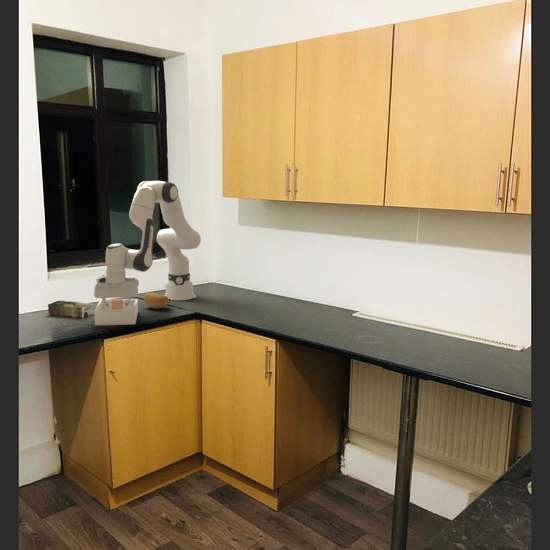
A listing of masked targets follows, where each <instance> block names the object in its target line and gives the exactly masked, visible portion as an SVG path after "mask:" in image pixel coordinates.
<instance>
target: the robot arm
mask: <svg viewBox="0 0 550 550" xmlns="http://www.w3.org/2000/svg"><path fill="white" fill-rule="evenodd" d="M137 185H138V186H137V188H136V192H135V193H134V196H133V199H132V201H131V205H130V208H129V212H128V214H129V215H128V217H129V219H130V221H131V222H132V224H133V225H135V226H136V227H138V228H139V229H140V230H141V232H142V237H141V244H140V248H139V249H131V248H128V247H127V246H124V245H123V244H122V243H119V242H118V243H111V244H109V245H107V247H106V249H105V265H106V269H105V271H106V272H105V274H103V275H100V276H98V277H97V278H96V284H95V286H94V293H93V295H94V298H96V299H101V300H103V302H104V303H105V307H108V306H109V305H108V304H109V303H107V302H106V301H105V300H107V299H109V298H111V299H114V298H115V299H121V298H127V299H129V300H128V302H126V303H125V304H126V305H125V306H129V302H130V300H131V299H132V298H137V297H138V296H139V288H138V287H139V285H140V284H139V283H140V281H139V279H138V278H136V277H126V269H127V270H128V269H129V270H133V271H138V272H139V271H140V272H142V273H143V272H147V271H148V270H150V268H151V267H152V265H153V262H154V258H153V256H154V255H153V253H154V252H153V250H154V241H155V233H156V232H155V231H156V223H155V221H154V218H153V213H154V210H155V206H156V205H155V204H159V205H160V210H161V215H162V219H163V222H164V223H165V225H167V226H168V227H170V228H163V229H160V230H159V231H158V232H157V234H156V243H157V244H158V245H159V246H160V247H161V249H162V250H163V251H164V252H165V254H166V256H167V259H168V260H167V261H168V275H167V277H168V278H167V279H168V280H167V282H166V283H165V294H164V295H165V296H167V297H168V299H170V300H171V301H187V300H191V299H196V298H197V295H196V294H195V293H194V285H193V282H192V281H191V273H190V259H188V257H187V256H186V255H184V253H182V251H181V250H193V249H194V250H195V249H198V247H200V245H201V241H202V238H201V235H200V233H199V231H196V230H195V229H194V228H193V227H192V226H191V225H190V223H189V222H188V220H187V218H186V217H185V215H184V214H185V213H184V211H183V206H182V202H181V198H180V196H179V190H178V187H177V185H176V183H173V182H170V181H163V180H162V181H161V180H150V181H149V180H144V181H141V182H140V183H139V184H137Z"/></svg>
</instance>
